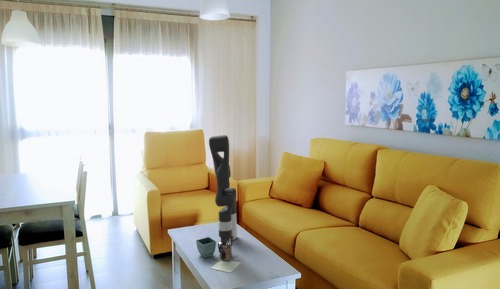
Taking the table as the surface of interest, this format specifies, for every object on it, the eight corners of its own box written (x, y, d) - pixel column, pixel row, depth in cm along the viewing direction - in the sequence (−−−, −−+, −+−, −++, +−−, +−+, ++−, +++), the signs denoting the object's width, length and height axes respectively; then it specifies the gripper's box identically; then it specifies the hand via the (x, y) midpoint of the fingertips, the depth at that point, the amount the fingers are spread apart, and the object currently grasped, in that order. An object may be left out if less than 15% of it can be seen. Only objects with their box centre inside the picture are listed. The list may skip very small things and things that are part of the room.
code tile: (222, 252, 222) (222, 252, 222) (237, 255, 218) (237, 255, 218) (213, 259, 213) (213, 259, 213) (229, 263, 209) (229, 262, 209)
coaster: (221, 259, 213) (221, 259, 213) (240, 263, 208) (240, 263, 208) (210, 268, 203) (210, 268, 203) (230, 273, 197) (230, 272, 197)
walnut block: (224, 254, 219) (224, 244, 218) (231, 256, 217) (231, 246, 216) (219, 258, 214) (219, 248, 214) (227, 259, 212) (227, 249, 211)
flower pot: (203, 260, 213) (203, 245, 212) (196, 254, 220) (195, 240, 219) (216, 256, 218) (216, 241, 217) (209, 251, 225) (208, 236, 224)
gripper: (225, 223, 221) (226, 250, 223) (212, 231, 208) (213, 260, 211) (237, 224, 218) (237, 252, 220) (224, 233, 205) (225, 263, 207)
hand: (225, 256), depth 215 cm, fingers closed on walnut block, 5 cm apart
